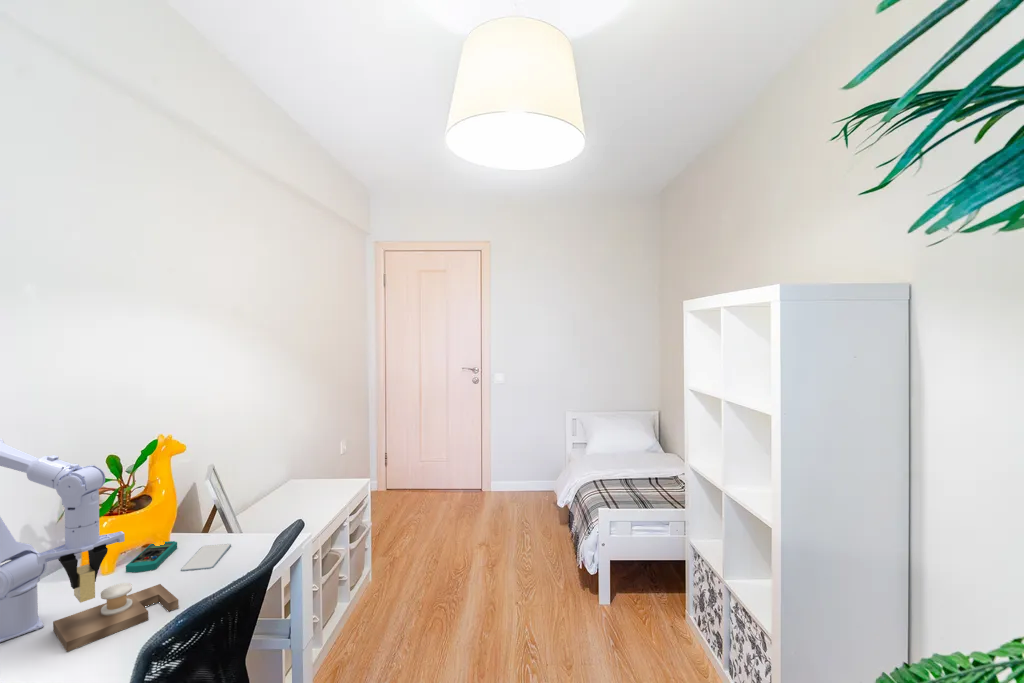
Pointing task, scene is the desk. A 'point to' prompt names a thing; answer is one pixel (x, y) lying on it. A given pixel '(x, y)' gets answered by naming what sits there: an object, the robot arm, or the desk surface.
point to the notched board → (110, 618)
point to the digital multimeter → (151, 557)
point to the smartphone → (206, 557)
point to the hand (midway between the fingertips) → (83, 584)
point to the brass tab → (85, 583)
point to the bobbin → (116, 599)
